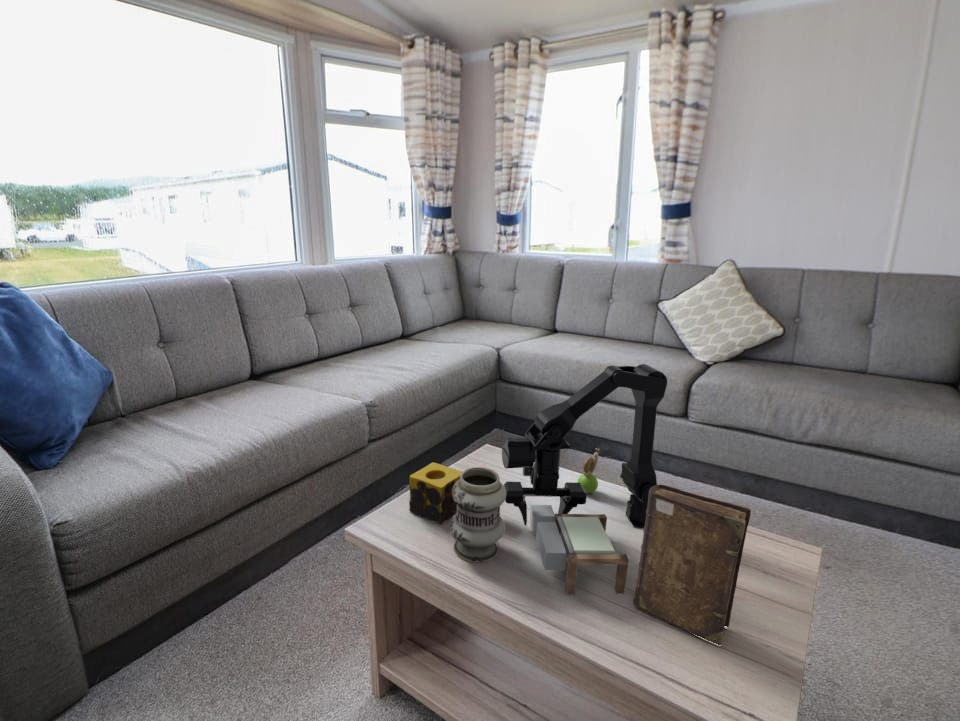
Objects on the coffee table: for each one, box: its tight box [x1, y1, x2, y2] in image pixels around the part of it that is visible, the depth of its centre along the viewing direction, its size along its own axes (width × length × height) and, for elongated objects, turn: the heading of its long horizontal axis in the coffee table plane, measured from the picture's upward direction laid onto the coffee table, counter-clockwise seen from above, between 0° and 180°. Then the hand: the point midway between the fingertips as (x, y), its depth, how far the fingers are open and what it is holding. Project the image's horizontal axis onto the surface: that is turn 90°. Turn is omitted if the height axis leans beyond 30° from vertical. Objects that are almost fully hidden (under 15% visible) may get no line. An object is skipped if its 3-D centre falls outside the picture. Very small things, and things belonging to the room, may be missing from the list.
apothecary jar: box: [449, 466, 506, 563], centre depth 114 cm, size 12×12×18 cm
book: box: [632, 484, 752, 646], centre depth 95 cm, size 17×7×25 cm, turn 51°
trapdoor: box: [535, 516, 616, 571], centre depth 110 cm, size 14×12×5 cm
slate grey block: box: [528, 504, 555, 536], centre depth 124 cm, size 5×5×5 cm
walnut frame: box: [554, 513, 630, 595], centre depth 110 cm, size 12×16×8 cm
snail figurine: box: [577, 447, 601, 495], centre depth 142 cm, size 5×6×12 cm
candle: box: [408, 462, 463, 525], centre depth 130 cm, size 10×10×10 cm
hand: (541, 524), depth 125 cm, fingers open, 8 cm apart
